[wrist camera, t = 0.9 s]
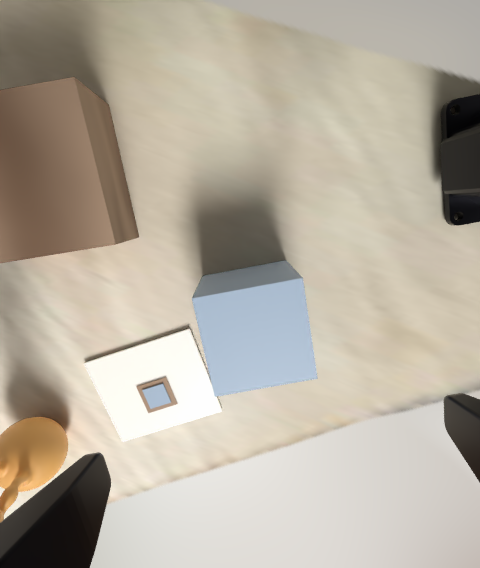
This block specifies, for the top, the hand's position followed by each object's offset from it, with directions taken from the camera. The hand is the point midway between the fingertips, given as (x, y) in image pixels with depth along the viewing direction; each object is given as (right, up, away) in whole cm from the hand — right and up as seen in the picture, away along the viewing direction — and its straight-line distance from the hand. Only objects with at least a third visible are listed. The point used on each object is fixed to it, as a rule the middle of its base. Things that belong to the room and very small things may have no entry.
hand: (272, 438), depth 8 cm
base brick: (-11, +10, +10) cm, 17 cm away
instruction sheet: (-6, -3, +12) cm, 14 cm away
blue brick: (0, +3, +11) cm, 12 cm away
